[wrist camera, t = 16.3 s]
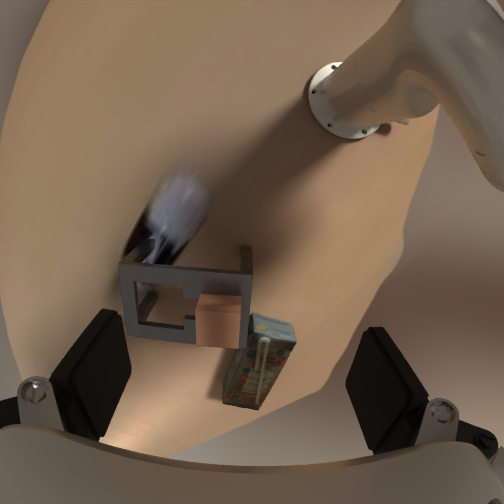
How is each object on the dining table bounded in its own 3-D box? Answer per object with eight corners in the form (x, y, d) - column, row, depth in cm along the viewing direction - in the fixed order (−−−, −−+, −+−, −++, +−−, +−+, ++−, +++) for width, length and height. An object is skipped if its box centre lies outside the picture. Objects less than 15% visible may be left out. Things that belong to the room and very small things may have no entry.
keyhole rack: (251, 246, 44) (253, 275, 33) (246, 307, 47) (246, 348, 37) (145, 238, 43) (118, 263, 32) (149, 299, 46) (127, 334, 36)
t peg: (241, 275, 40) (240, 313, 30) (239, 306, 42) (238, 348, 32) (206, 273, 40) (195, 310, 30) (206, 303, 41) (196, 345, 32)
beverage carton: (294, 321, 49) (300, 344, 42) (258, 391, 55) (259, 414, 48) (252, 310, 48) (252, 332, 41) (222, 383, 54) (219, 406, 47)
